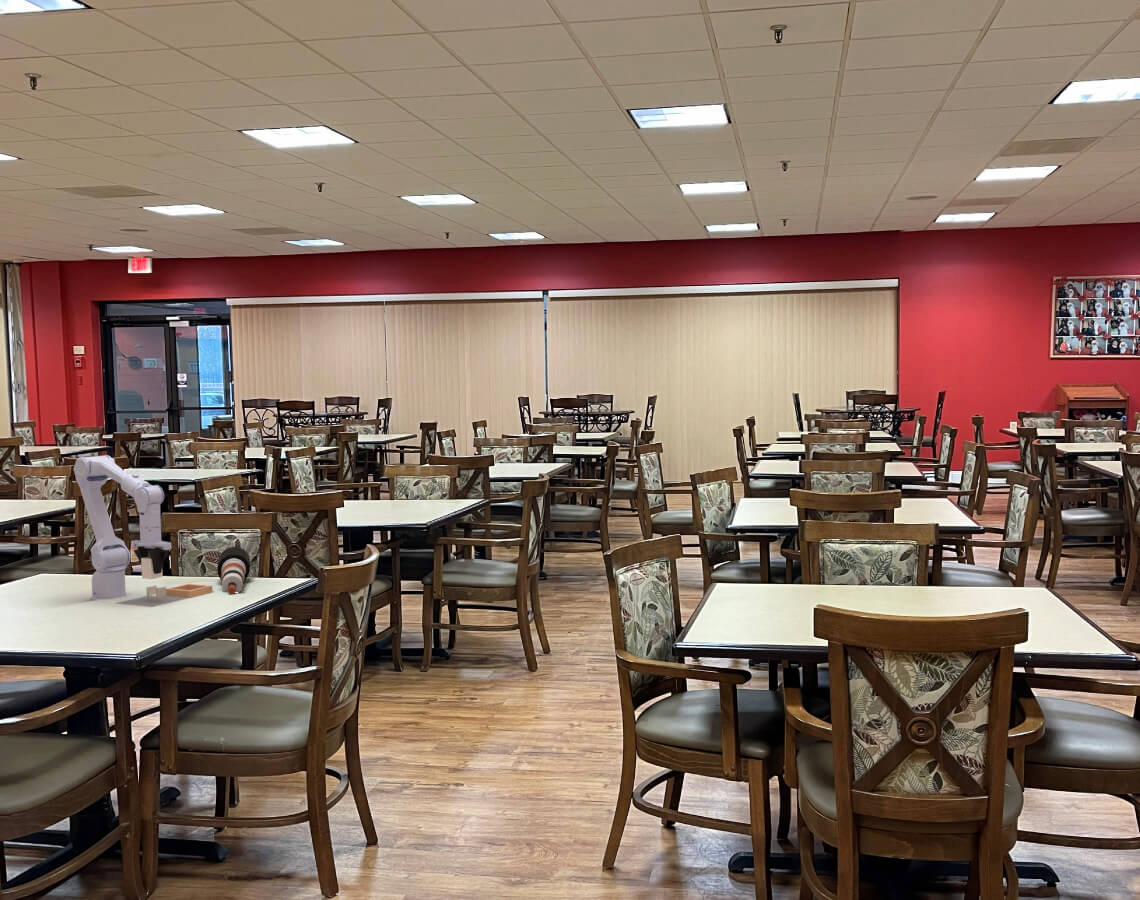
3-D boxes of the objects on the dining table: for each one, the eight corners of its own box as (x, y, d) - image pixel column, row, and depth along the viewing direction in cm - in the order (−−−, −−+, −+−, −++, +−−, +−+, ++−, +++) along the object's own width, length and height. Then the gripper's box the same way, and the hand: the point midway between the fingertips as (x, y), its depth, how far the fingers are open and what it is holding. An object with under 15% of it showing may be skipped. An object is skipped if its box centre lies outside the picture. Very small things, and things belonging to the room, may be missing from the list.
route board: (115, 606, 301) (115, 603, 301) (179, 591, 322) (179, 588, 322) (152, 610, 294) (152, 606, 294) (215, 594, 315) (214, 591, 315)
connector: (142, 578, 302) (140, 551, 301) (153, 575, 305) (151, 549, 305) (151, 579, 300) (150, 552, 300) (162, 576, 304) (161, 550, 303)
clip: (146, 597, 309) (146, 587, 309) (154, 595, 312) (154, 585, 311) (158, 598, 307) (158, 588, 306) (166, 596, 309) (166, 586, 309)
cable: (225, 612, 311) (207, 585, 308) (228, 581, 343) (212, 556, 340) (255, 595, 313) (238, 568, 310) (255, 566, 345) (240, 541, 342)
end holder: (165, 595, 311) (165, 588, 311) (188, 590, 319) (188, 583, 319) (189, 597, 306) (189, 591, 306) (212, 592, 315) (212, 585, 314)
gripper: (121, 527, 302) (123, 573, 302) (156, 529, 295) (158, 576, 296) (141, 524, 308) (143, 569, 309) (176, 526, 301) (178, 572, 302)
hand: (152, 572), depth 303 cm, fingers closed on connector, 4 cm apart
